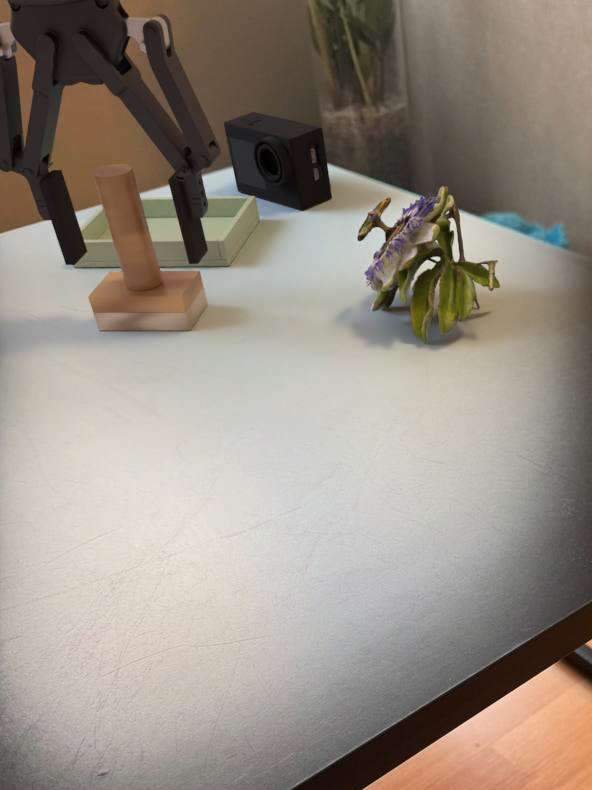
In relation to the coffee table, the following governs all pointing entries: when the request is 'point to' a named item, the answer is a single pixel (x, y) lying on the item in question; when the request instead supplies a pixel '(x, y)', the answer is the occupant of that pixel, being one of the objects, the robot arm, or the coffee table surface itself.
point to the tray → (177, 232)
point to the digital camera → (279, 160)
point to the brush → (139, 267)
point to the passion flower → (411, 249)
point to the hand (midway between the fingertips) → (137, 257)
